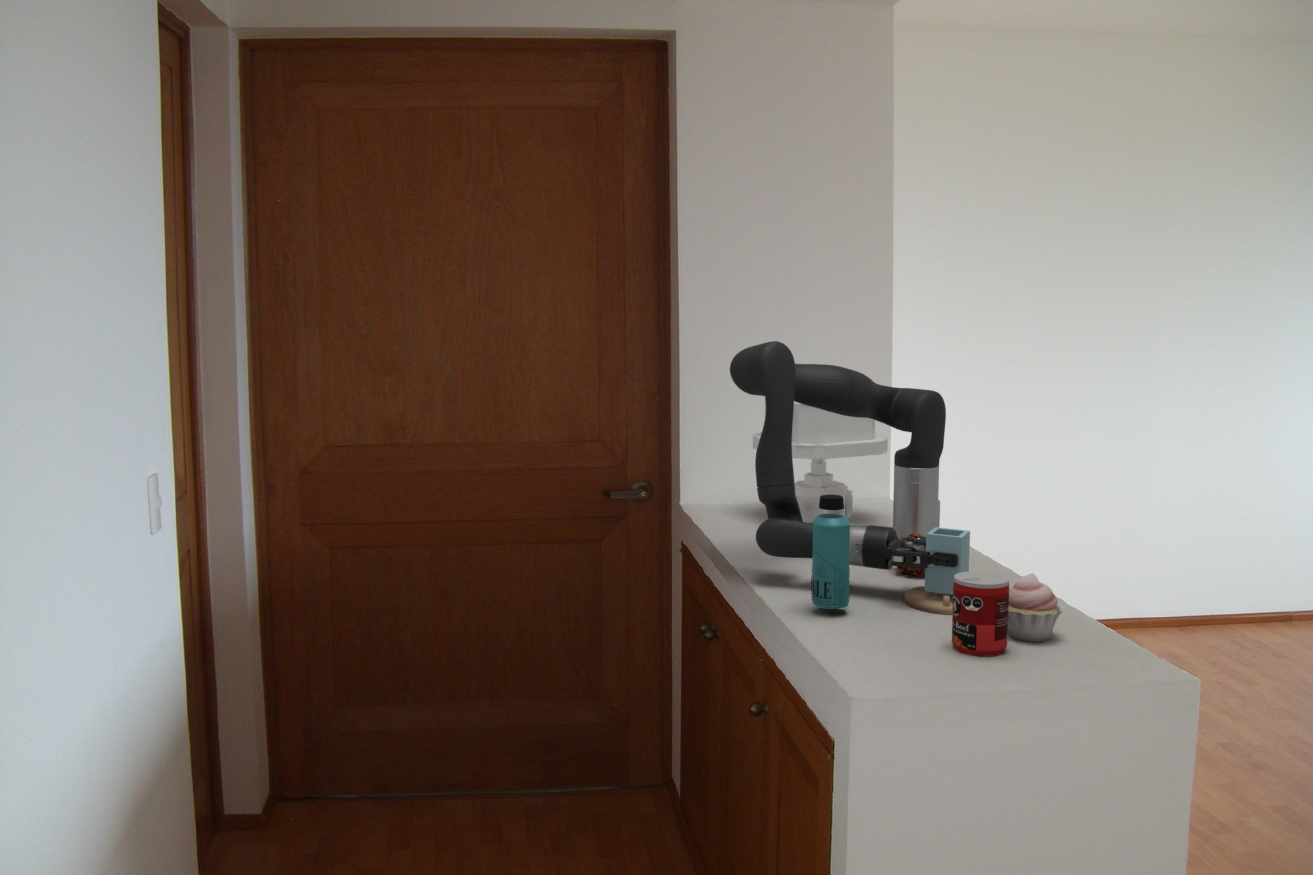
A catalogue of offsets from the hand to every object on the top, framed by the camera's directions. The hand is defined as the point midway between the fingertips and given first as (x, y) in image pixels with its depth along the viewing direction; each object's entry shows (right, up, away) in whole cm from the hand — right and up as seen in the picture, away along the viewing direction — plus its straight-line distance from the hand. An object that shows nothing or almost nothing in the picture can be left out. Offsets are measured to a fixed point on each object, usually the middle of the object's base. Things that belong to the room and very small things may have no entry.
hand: (961, 556), depth 183 cm
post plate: (-2, -8, +2) cm, 9 cm away
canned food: (-4, -12, -22) cm, 25 cm away
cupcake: (+6, -11, -16) cm, 20 cm away
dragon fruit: (-3, -6, +23) cm, 24 cm away
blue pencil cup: (-2, -6, +2) cm, 6 cm away
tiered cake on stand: (-14, 0, +68) cm, 70 cm away
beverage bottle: (-23, -9, -3) cm, 25 cm away
